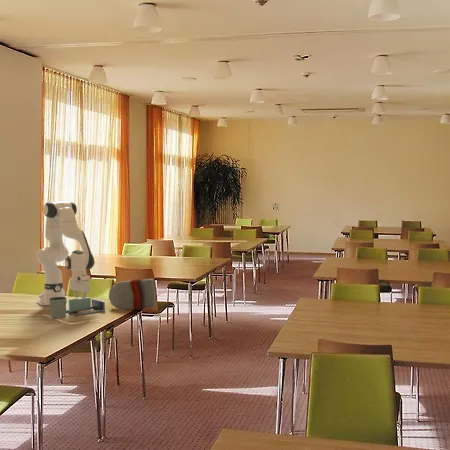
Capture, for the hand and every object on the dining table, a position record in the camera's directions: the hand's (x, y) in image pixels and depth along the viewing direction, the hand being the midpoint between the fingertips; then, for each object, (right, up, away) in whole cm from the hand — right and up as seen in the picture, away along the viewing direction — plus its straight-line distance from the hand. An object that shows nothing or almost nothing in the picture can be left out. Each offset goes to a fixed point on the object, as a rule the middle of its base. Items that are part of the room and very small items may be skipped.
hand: (80, 298), depth 415 cm
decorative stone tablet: (+32, -8, +9) cm, 34 cm away
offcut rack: (+3, -9, -2) cm, 10 cm away
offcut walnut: (+5, -9, -5) cm, 11 cm away
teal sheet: (0, -9, +1) cm, 9 cm away
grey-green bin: (-10, -11, -13) cm, 20 cm away
